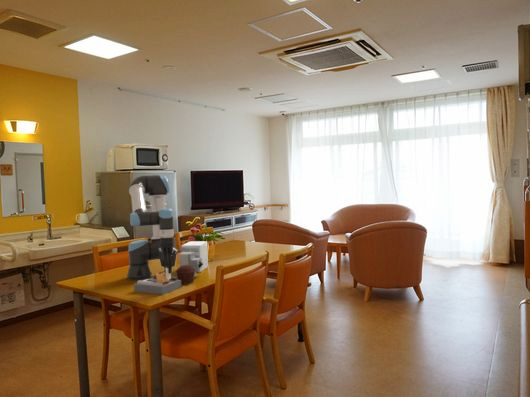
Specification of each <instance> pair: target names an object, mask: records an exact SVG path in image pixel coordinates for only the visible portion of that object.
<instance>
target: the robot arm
mask: <svg viewBox="0 0 530 397" xmlns="http://www.w3.org/2000/svg"><path fill="white" fill-rule="evenodd" d="M128 193H129V195H130V196H131V206H132V212H131V213H130V214H129V216H130V217H129V218H130V219H129V220H130V226H132V227H144V226H146V227H147V226H152V237H150V241H148V239H138V240H135V241H131V242H130V243H129V244H128V262H129V263H128V264H129V267H128V270H127V273H126V279H127V280H129V281H139V280H140V281H143V280H146V279H150V278H153V276H152V275H153V273H152V271H151V267H150V265H149V261H154V260H159V262H160V265H161V267H163V268H164V271H165V273H166V280H169V279H171V277H172V273H173V270H172V269H173V267H175V266H176V259H177V254H178V252H179V249H176V248H175V246H174V243H175V238H174V235H175V233H174V232H175V230H174V212H173V209H172V208H166V198H167V196H168V193H170V184H169V181H168V177H167V176H166V175H160V174H158V175H155V174H154V175H153V174H152V175H140V176H137V177H135V178H134V179H133V180H132V181H131V182H130V184H129V187H128ZM145 194H146V195H148V197H149V198H150V201H151V211H147V205H146V199H145Z"/></svg>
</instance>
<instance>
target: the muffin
mask: <svg viewBox="0 0 530 397" xmlns="http://www.w3.org/2000/svg"><path fill="white" fill-rule="evenodd" d="M195 271H196V270H195V269H194V268H193V267H192V266H190V265H183V266H181V267H180V266H179V267H178V268H177V269H176V270H175V274H176V277H177V280H181V285H189V284H193V283H194V280H195V276H194V274H195Z"/></svg>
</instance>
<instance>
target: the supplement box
mask: <svg viewBox="0 0 530 397" xmlns="http://www.w3.org/2000/svg"><path fill="white" fill-rule="evenodd" d="M180 248H181V250H180V251H181V253H182V252H195V258H202V263H203V265H202V270H200V271H199V272H198V273H201V272H203V271H204V270H205V269H207V268H208V267H209V259H208V255H209V254H208V251H209V250H208V241H207V240H206V241H203V240H201V241H200V240H197V241H196V240H195V241H194V240H193V241H192V240H191V241H188V242H185V243H184V244H182V245H181V246H180Z"/></svg>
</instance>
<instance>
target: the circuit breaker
mask: <svg viewBox="0 0 530 397" xmlns="http://www.w3.org/2000/svg"><path fill="white" fill-rule="evenodd" d="M177 254H178V257H177V259H178V260H177V261H179V267H181V266H183V265H190V266H192V267H193V268H194V269H195V270H196V271H195V274H194V277H196V275H197V274H196V273H200V272H199V271H200V270H202V265H203V263H202V258H195V252H182V251H181V252H180V253H177Z"/></svg>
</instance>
